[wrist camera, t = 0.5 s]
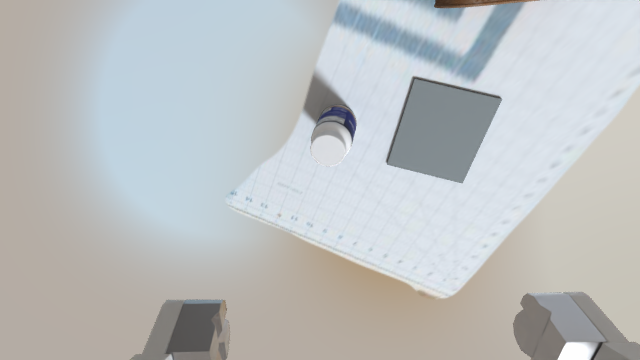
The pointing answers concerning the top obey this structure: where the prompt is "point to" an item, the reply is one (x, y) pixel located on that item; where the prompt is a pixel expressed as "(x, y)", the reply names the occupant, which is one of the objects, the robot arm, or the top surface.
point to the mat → (442, 130)
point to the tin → (472, 3)
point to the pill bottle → (333, 135)
